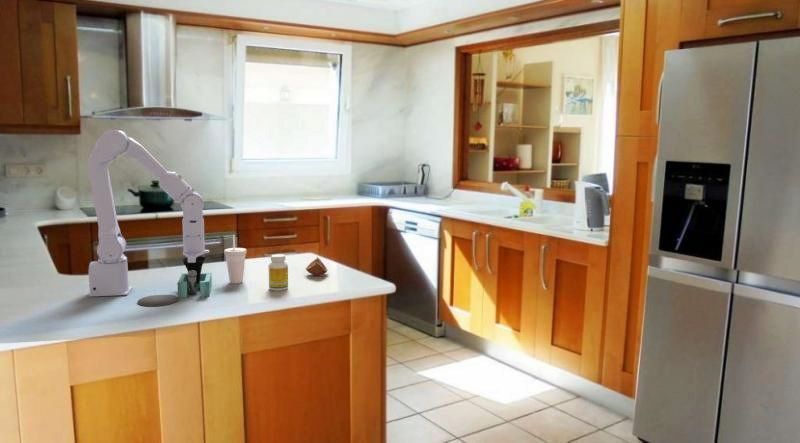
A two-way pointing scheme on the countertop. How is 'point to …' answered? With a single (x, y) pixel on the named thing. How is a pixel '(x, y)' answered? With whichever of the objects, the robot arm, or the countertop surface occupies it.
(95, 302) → the countertop surface
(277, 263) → the supplement bottle
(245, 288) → the countertop surface
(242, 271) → the smoothie
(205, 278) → the c link
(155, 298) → the coaster
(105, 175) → the robot arm
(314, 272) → the brown wedge block
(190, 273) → the cylinder
